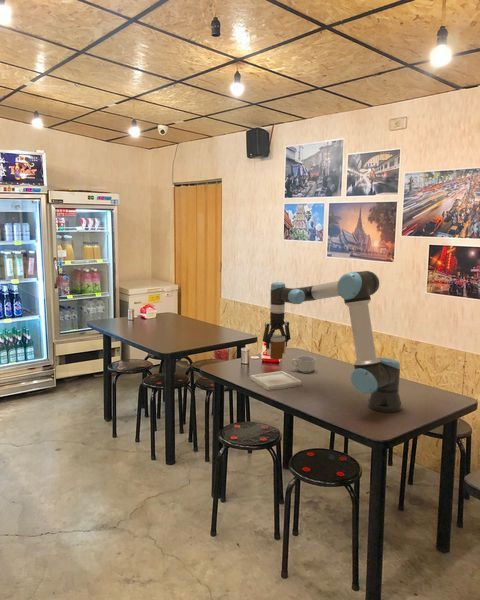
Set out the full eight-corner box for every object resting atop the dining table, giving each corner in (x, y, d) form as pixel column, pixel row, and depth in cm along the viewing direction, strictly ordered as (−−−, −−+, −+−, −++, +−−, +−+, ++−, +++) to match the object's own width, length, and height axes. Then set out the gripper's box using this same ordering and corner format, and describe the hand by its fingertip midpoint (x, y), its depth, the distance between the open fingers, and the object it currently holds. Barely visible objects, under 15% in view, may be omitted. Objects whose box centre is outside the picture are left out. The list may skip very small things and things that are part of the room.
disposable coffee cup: (264, 356, 272) (264, 335, 270) (279, 355, 276) (280, 333, 274) (272, 361, 263) (273, 338, 261) (288, 359, 267) (289, 337, 265)
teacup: (314, 369, 298) (315, 355, 296) (315, 374, 287) (316, 360, 286) (290, 368, 299) (291, 354, 298) (290, 373, 288) (291, 359, 287)
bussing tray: (301, 385, 267) (301, 381, 267) (268, 390, 258) (268, 386, 258) (282, 375, 285) (282, 370, 284) (250, 379, 276) (250, 375, 276)
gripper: (290, 309, 273) (289, 350, 277) (256, 312, 264) (255, 354, 268) (298, 311, 267) (297, 353, 270) (263, 314, 258) (262, 357, 261)
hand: (276, 353), depth 269 cm, fingers closed on disposable coffee cup, 8 cm apart
